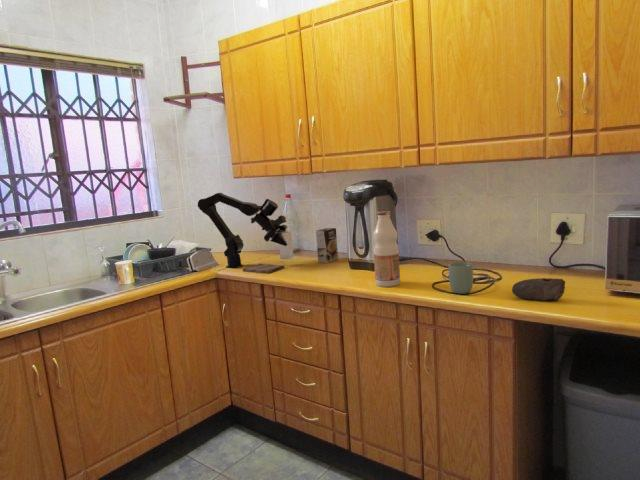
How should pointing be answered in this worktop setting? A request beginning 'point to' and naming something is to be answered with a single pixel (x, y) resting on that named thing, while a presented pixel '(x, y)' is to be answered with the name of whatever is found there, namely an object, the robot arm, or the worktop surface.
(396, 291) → the worktop surface
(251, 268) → the plate
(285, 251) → the aluminium block
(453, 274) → the cup
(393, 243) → the fruit juice
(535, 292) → the perforated stone tool
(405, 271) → the worktop surface
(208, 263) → the grey metal block
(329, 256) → the coffee box
